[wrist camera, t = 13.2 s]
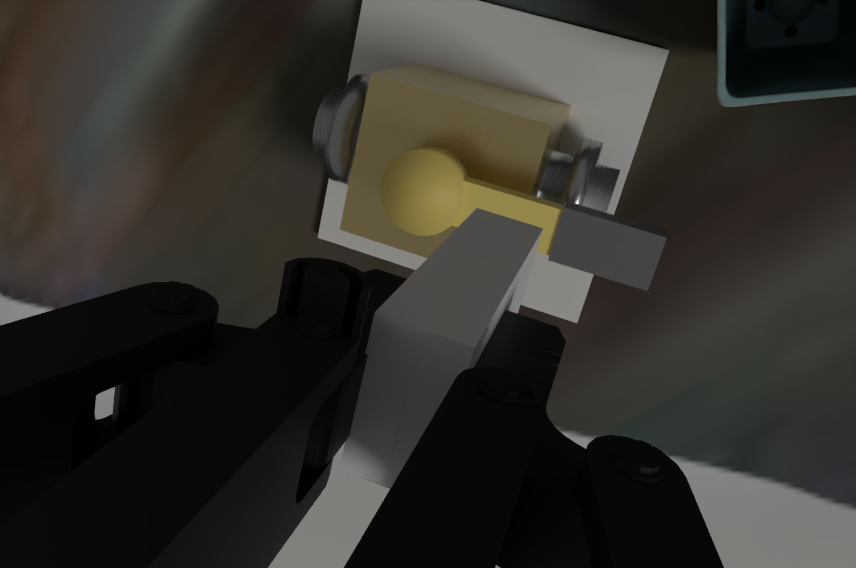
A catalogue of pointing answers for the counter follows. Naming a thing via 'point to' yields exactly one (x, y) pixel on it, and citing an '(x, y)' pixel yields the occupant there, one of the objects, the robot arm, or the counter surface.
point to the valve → (449, 144)
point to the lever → (518, 217)
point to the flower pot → (785, 51)
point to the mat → (523, 71)
